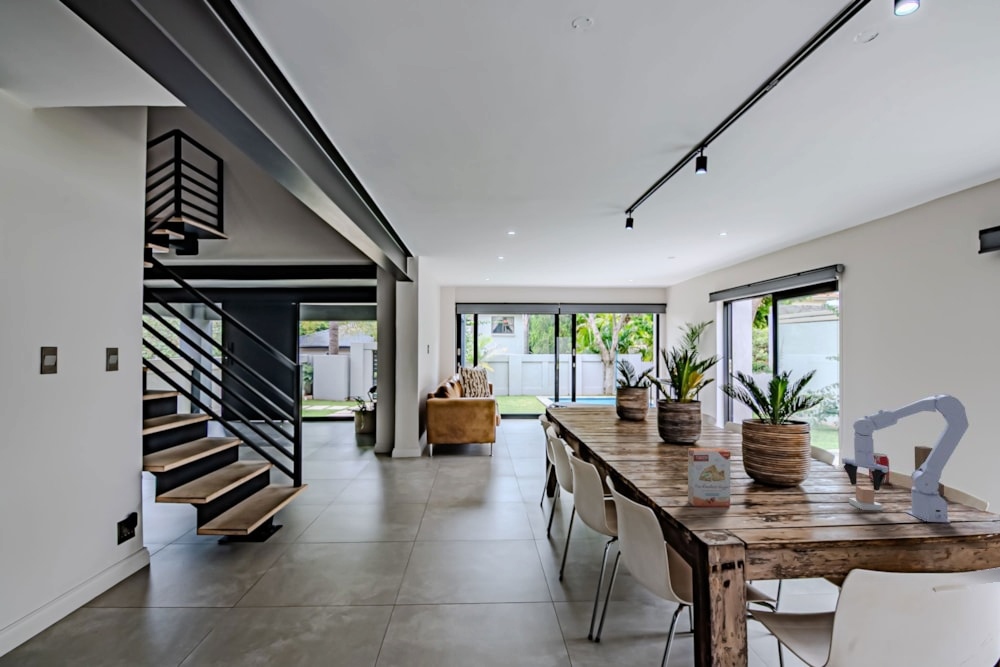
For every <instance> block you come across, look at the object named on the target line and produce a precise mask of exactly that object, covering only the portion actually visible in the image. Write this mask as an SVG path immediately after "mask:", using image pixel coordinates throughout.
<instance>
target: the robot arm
mask: <svg viewBox="0 0 1000 667" xmlns="http://www.w3.org/2000/svg"><path fill="white" fill-rule="evenodd" d="M877 411H878V412H875V413H873V414H870V415H867V414H866V415H864V416H863V417H864V418H863V417H860V418H857V419H856V420H854V422H853V424H852V426H853V429H854V433H853V434H854V439H853V442H854V443H853V444H854V446H853V447H854V450H853V451H854V459H852V458H847V457H846V458H841V464H842V466H843V469H844V471H845V472H846V473H847V475H848V478H849V481H850V485H852V486H855V485H857V482H858V479H857V472H858V468H864V469H867V470H869V469H872V470H875V471H871V473H872V476H873V481H872V482H873V483H872V484H873V485H872V486H873V490H874V491H879V490H880V487H881V485H882V483H881V482H882V480H883V478H884V477H885V475H886V474H887V472H888V467H887V466H883V465H879V464H876V463H874V453H875V452H874V451H875V449H874V439H873V433H874V431H879V430H880V431H881V430H883V429H885V428H889V427H890V426H894V425H897V423H898V420H899V419H903V418H906V417H908V416H911V415H915V414H918V413H922V412H933V413H936V412H937V411H938V412H939V413H940V414H941V415H942V417H943V419H945V421H946V424H945V425H946V426H944V429H943V430H942V431H941V434H940V435H939V437H938V438H937V440H936V442H935V444H934V446H933V449H932V451H931V452H930V454H929V456H928V458H927V459H926V461H925V462H924V463H923V464H922V465H921V466H920V468H919V469H918V470H916V471H915V470H914V471H913V472H912V473H911V476H910V478H911V480H912V482H913V483H914V485H913V486H912V487H910V488H911V491H910V492H911V494H910V496H911V500H910V501H911V510H904V511H905V513H907V514H909V515H910V516H913V517H915V518H917V519H919V520H921V519H922V521H924V522H926V521H927V523H928V522H929V523H930V522H931V523H951V521H950V520H949V519H948V503H947V500H946V499H944V498H943V497H941V495H939V492H938V491H937V490H938V488H939V483H938V482H940V479H941V476H942V472H943V470H944V468H945V466H946V465H947V463H948V461H949V460H950V458H951V457H952V454H953V453H954V451H955V450H956V447H957V446H958V445H959V443H960V441H961V439H962V438H963V436H964V435H965V433H966V432H967V430H968V428H969V422H968V418H967V417H968V416H967V414H966V407H965V406H964V404H963V403H962V402H961V401H960V400H959V398H956V397H954V396H952V395H950V394H947V393H940V394H937V395H935V396H933V395H932V396H929V397H925V398H922V399H919V400H917V401H913V402H912V403H909V404H907V405H904V406H901V407H899V408H896V409H894V410H889V409H882V408H881V409H879V410H877Z"/></svg>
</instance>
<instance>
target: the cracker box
mask: <svg viewBox="0 0 1000 667" xmlns="http://www.w3.org/2000/svg"><path fill="white" fill-rule="evenodd" d="M687 452H688V453H687V456H688V457H687V459H688V460H687V502H688V501H689V502H688V503H690V504H691V506H693V507H716V508H717V507H722V508H724V507H726V508H727V507H728V508H729V507H731V452H730V451H729V450H727V449H725V448H702V447H701V448H700V447H699V448H695V447H694V448H692V447H691V448H687Z"/></svg>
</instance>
